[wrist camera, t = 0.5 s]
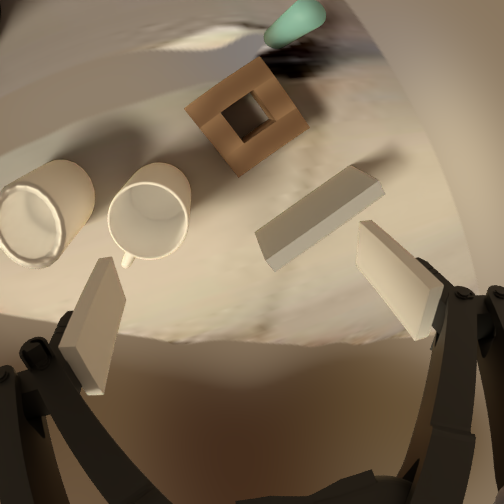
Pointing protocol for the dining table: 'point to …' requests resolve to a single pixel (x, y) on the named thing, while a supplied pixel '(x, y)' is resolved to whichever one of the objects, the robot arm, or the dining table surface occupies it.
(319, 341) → the dining table surface
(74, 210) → the mug
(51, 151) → the dining table surface
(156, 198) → the cup
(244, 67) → the block
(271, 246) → the wall
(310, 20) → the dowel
